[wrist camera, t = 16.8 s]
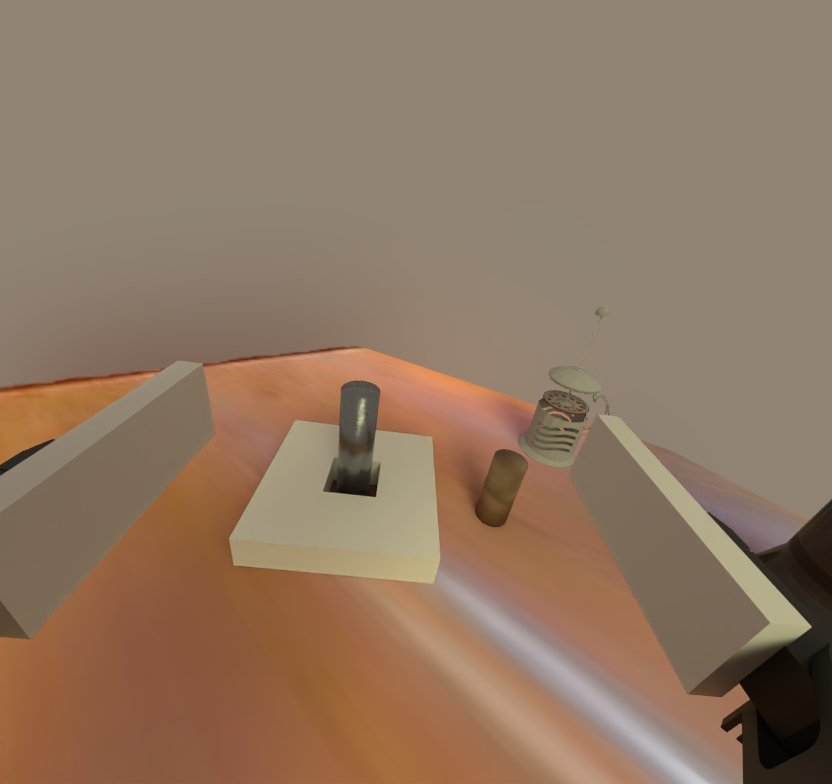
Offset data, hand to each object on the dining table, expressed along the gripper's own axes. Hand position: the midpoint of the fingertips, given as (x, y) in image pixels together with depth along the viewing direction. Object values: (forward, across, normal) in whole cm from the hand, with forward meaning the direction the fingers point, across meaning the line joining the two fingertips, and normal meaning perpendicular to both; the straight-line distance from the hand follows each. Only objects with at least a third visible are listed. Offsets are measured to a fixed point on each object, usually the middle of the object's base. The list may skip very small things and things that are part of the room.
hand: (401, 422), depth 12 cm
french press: (+38, +28, -28) cm, 54 cm away
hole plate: (+21, -4, -27) cm, 35 cm away
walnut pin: (+22, +14, -27) cm, 37 cm away
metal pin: (+21, -4, -27) cm, 35 cm away
